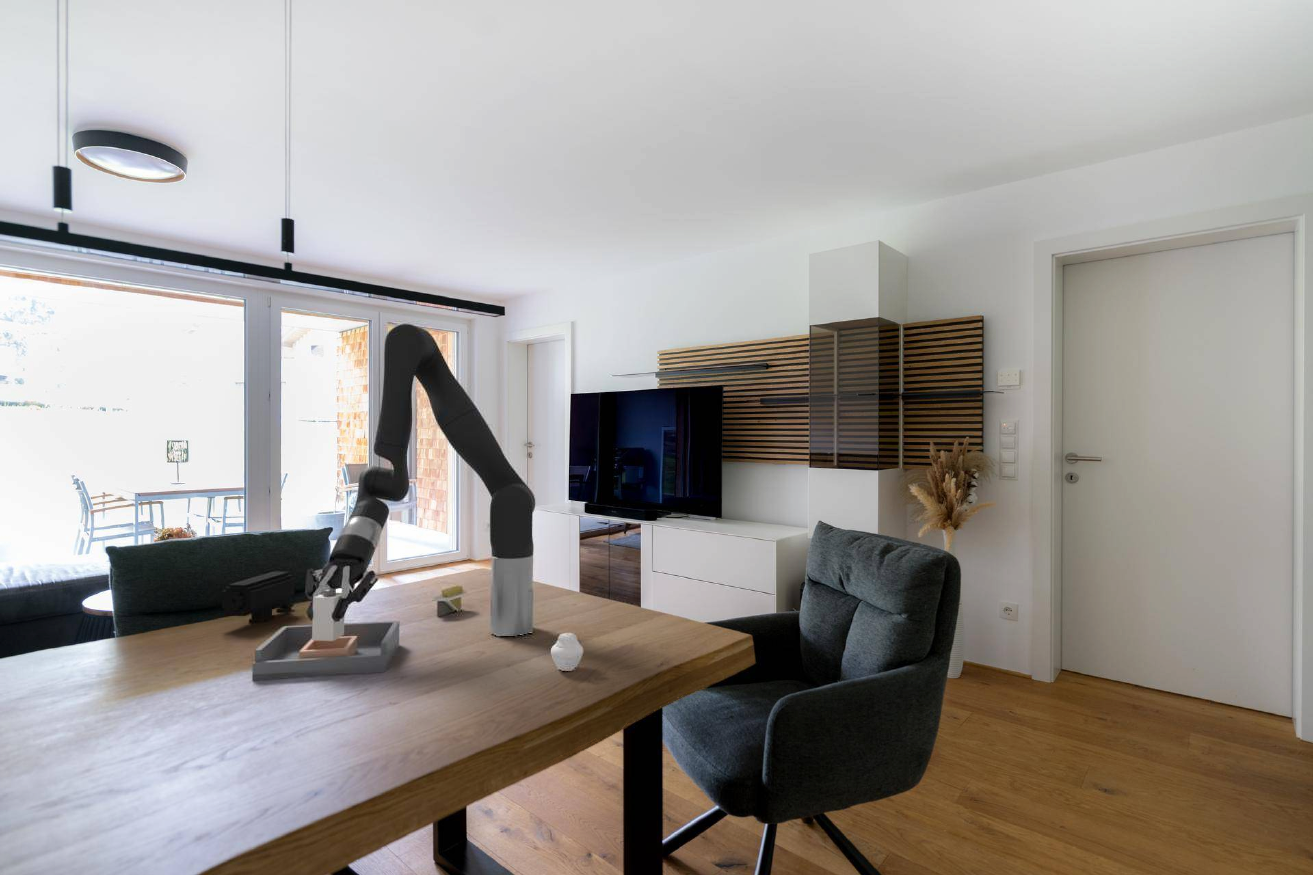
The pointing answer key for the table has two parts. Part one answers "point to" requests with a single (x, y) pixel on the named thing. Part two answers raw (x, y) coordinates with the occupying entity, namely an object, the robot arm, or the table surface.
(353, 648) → the walled box
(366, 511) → the robot arm
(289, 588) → the security camera
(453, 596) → the platform
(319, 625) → the plug
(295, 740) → the table surface
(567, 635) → the white lidded jar
